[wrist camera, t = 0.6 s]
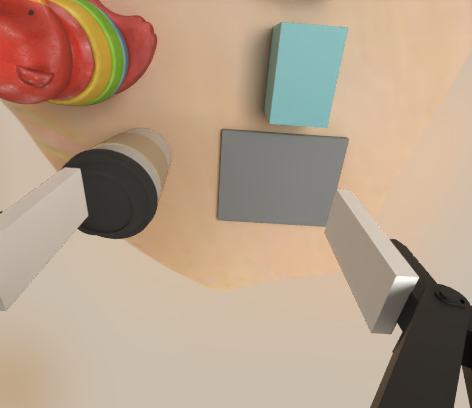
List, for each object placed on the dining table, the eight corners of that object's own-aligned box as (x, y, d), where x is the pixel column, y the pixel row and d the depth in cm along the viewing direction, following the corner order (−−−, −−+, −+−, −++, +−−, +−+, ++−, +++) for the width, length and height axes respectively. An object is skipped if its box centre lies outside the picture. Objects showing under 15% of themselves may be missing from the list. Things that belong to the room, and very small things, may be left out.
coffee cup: (142, 103, 36) (88, 135, 23) (193, 157, 40) (172, 213, 26) (95, 149, 39) (23, 202, 26) (147, 197, 42) (107, 265, 29)
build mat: (222, 128, 38) (222, 130, 37) (346, 137, 38) (349, 139, 38) (218, 217, 44) (217, 220, 43) (325, 224, 44) (327, 226, 44)
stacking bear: (163, 29, 33) (96, 11, 17) (133, 112, 37) (56, 161, 21) (64, -29, 31) (-120, -110, 15) (43, 68, 35) (-117, 84, 19)
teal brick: (273, 27, 33) (281, 22, 27) (327, 31, 33) (348, 27, 27) (263, 111, 37) (269, 123, 31) (311, 114, 37) (327, 127, 31)
